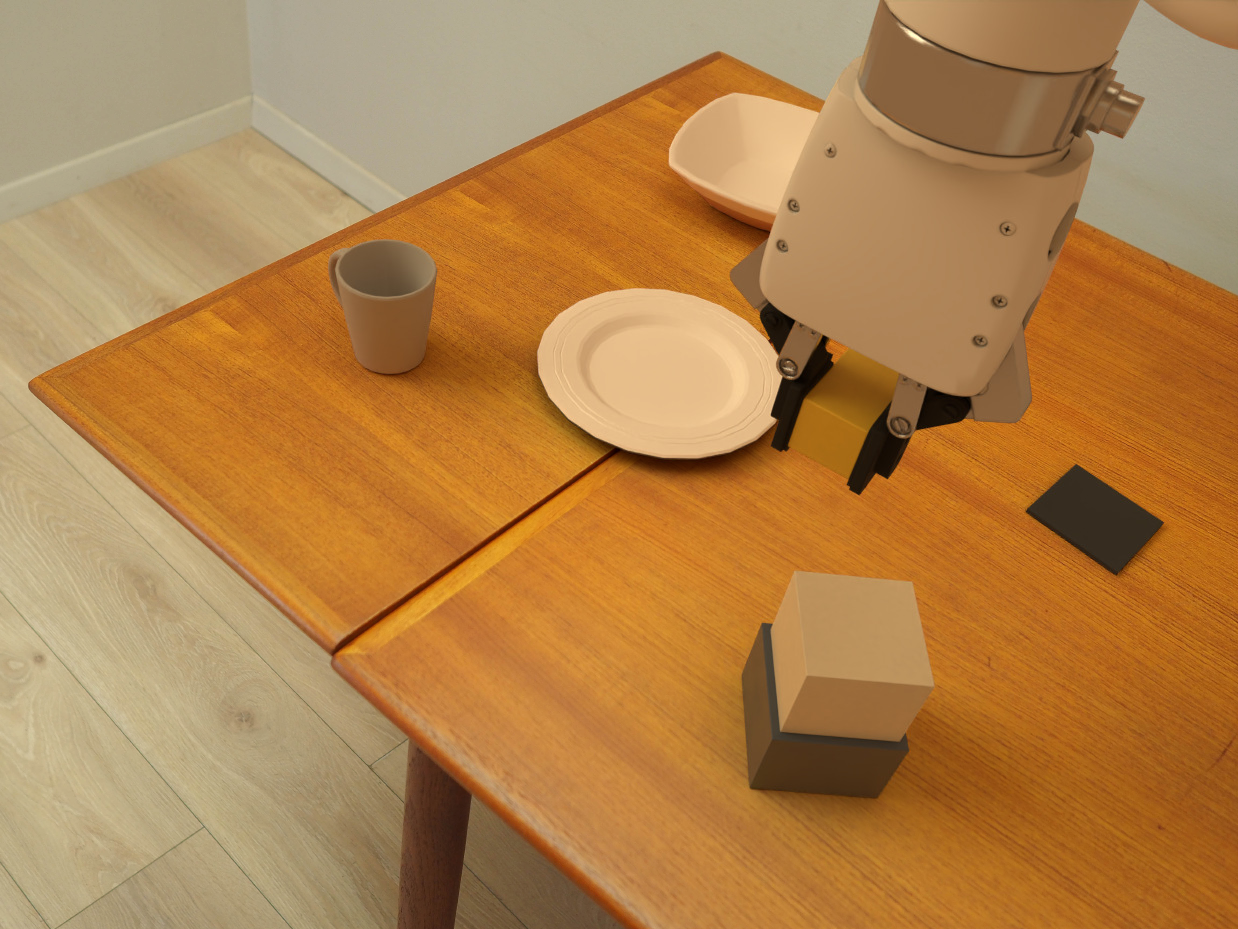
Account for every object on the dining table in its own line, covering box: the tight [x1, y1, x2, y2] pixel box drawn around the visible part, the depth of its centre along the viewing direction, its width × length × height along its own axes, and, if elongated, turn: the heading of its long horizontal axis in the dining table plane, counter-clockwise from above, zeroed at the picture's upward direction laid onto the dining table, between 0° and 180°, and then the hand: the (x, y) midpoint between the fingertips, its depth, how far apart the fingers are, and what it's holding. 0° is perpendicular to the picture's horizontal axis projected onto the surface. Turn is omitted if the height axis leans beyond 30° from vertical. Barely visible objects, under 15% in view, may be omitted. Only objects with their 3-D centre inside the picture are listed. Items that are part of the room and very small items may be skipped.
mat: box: [1025, 463, 1165, 576], centre depth 83 cm, size 8×8×1 cm
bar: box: [788, 347, 899, 480], centre depth 50 cm, size 14×3×3 cm, turn 145°
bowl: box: [668, 92, 820, 232], centre depth 108 cm, size 22×22×5 cm
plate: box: [536, 287, 782, 461], centre depth 87 cm, size 21×21×2 cm
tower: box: [741, 570, 936, 799], centre depth 62 cm, size 8×8×12 cm
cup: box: [327, 238, 438, 375], centre depth 83 cm, size 8×10×8 cm
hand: (829, 451), depth 48 cm, fingers closed on bar, 3 cm apart
